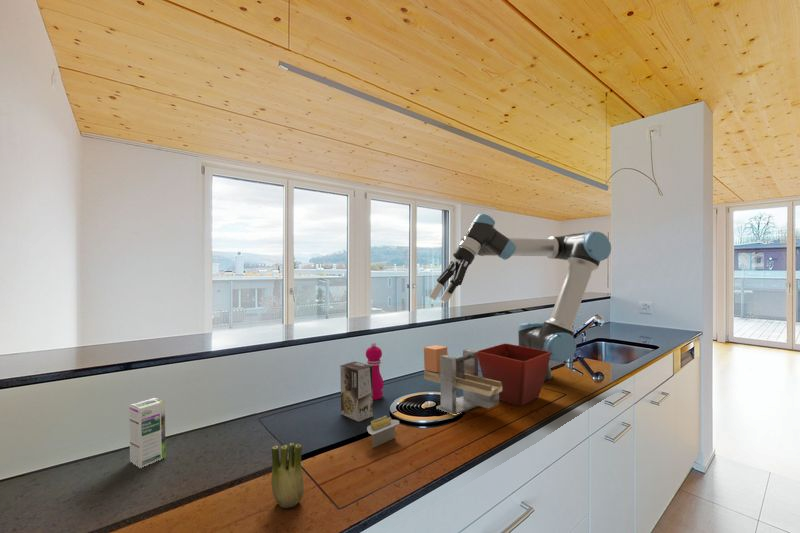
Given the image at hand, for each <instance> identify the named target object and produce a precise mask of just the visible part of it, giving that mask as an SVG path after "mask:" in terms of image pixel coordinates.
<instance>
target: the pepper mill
mask: <svg viewBox="0 0 800 533" xmlns="http://www.w3.org/2000/svg"><path fill="white" fill-rule="evenodd" d="M365 356H366V359H367V360H366V364H367V365H371V366H373V367H372V381H373V401H374V400H375V401H377V400H380V399H382V398H383V395H384V394H383V393H384V392H383V391H382V390H383V389H384V387H385V384H384V383H385V382H384V379H383V376H382V374H381V372H380V365H381V362H382V361H381V358H382V356H383V351H382V349H381V348H380V347H379V346H377V343H376V342H375V341H374V342H372V343H371V345H370V346H369V347H368V348H367V349H366V351H365Z"/></svg>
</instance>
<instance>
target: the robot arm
mask: <svg viewBox="0 0 800 533" xmlns="http://www.w3.org/2000/svg"><path fill="white" fill-rule="evenodd" d="M495 225H496V221H495V220H494V218H493V217H491V216H490V215H488V214H485V213H479V214H477V215H476V217H475V218H474V219H473V221H472V222H471V224H470V226H469V228H468V229H467V231H466V233H465V235H464V236H463V237H461V238H460V240H461V241H460V242H459V244H458V246H457V247H456V249H455V250H454V252H453V254H452V255H453V257H454V258H455V260H454V261H452V260H451V261H450V262H449V264H448V265H447V266H446V268H445V269H444V270H443V271H442V272H441V274H440V275H439V276H438V277H437V279H436V284H435V286H434V288H433V289H432V291H431V293H430V294H429V295H428V297H429V298H430V299H432V300H434V301H436V299H437V298H438V297H439V295H440V293H441V291H442V290H443V289H444V288H445V286H446V283H447V282H448V281H449V284H448V285H447V287H446V288H445V290H444V292H443V293H442V295H441V297H440V301H443V302H445V303H446V304H447V303H448V302H449V300H450V299H451V298H452V296H453V294H454V293H455V291H456V289H457V287H458V286H461V285H462V284H463V281H464V278H465V275H466V273H467V269H468V268H469V266H470V265H471V264H472V263H473V261H474V260H475V258H476V257H475V256H480V257H485V256H490V257H491V256H493V257H495V256H497V257H498V258H501V259H502V260H505V261H506V260H508V259H510V258H511V257H512V256H515V257H516V256H518V257H520V256H521V257H547V259H549V260H552V259H554V260H556V259H557V260H564V261H567V262H568V264H569V265H568V269H567V271H566V274H565V276H564V279H563V282H562V284H561V288H560V290H559V293H558V296H557V297H556V300H555V303H554V306H553V309H552V312H551V315H550V316H549V318H548V319H547V320H544V322H521V323H520V324H519V325H518V330H517V332H518V334H517V335H518V346H523V347H528V348H533V349H539V350H544V351H549V352H550V360H549V361H552V362H556V363H562V362H565V361H568V360H570V359H571V358H573V356H574V354H575V352H576V350H577V349H576V348H577V343H576V339H575V337H574V335H575V330H574V328H573V326H574V323H575V319H576V317H577V313H578V311H579V309H580V306H581V303H582V300H583V297H584V295H585V292H586V289H587V287H588V284H589V281H590V279H591V276H592V273H593V271H596V270H598V269H599V266H600V263H601V262H603V261H604V260H606V259H608V258H609V257H610V255H611V252H612V243H611V242H610V240H609V237H608V236H607V235H605V233H603V232H601V231H592V230H591V231H590V230H589V231H587V232H580V233H571V234H565V235H559V236H550V237H549V236H548V238H527V237H526V238H524V237H523V238H522V237H521V238H520V237H507V236H506V235H504V234H503V233H501V232H500V231H498V230H497V229H496V228H495ZM451 278H452V279H451ZM449 279H450V280H449ZM552 373H553V372H552V370H551V367H550V364H549V365H548V369H547V373H546V377H545V380H544V382H545V381H549V380H551V379H552V377H553V376H552V375H553V374H552Z"/></svg>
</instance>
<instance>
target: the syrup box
mask: <svg viewBox="0 0 800 533" xmlns="http://www.w3.org/2000/svg"><path fill="white" fill-rule="evenodd" d="M128 421H129V423H128V424H129V426H128V427H129V428H128V429H129V462H130V463H131V462H132V463H133V464H132V463H131V464H132V465H134V464H135V465H136V467H137V466H138V467H137V468H138V469H140V468H141V469H143V468H144V466H145V467H147V466H149V464H150V465H152V464H155V463H157V462H159V461H161V459H162V460H164V459H166V458H165V457H167V456H166V454H167V453H166V452H167V451H166V402H165V401H164V400H163V399H160V398H157V397H152V398H150V399H146V400H142V401H140V402H135V403H131V404H129V405H128ZM163 458H164V459H163ZM158 460H159V461H158ZM156 461H157V462H156ZM135 465H134V466H135ZM142 467H143V468H142Z"/></svg>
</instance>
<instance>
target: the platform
mask: <svg viewBox="0 0 800 533" xmlns="http://www.w3.org/2000/svg"><path fill="white" fill-rule="evenodd" d="M398 425H400V420H398V419H392V417H388V415H384V416H383V417H382V416H381V417H380V418H376V419H374V420H371V421H370V425H367V427H366V430H367V432H368V434H370V435H371V436H372V437H371V438H372V444H371V445H372V449H373V448H376V447H378V446H380V445H383V444H385V443H387V442H389V441H391V440H393V439H396V426H398Z"/></svg>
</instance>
